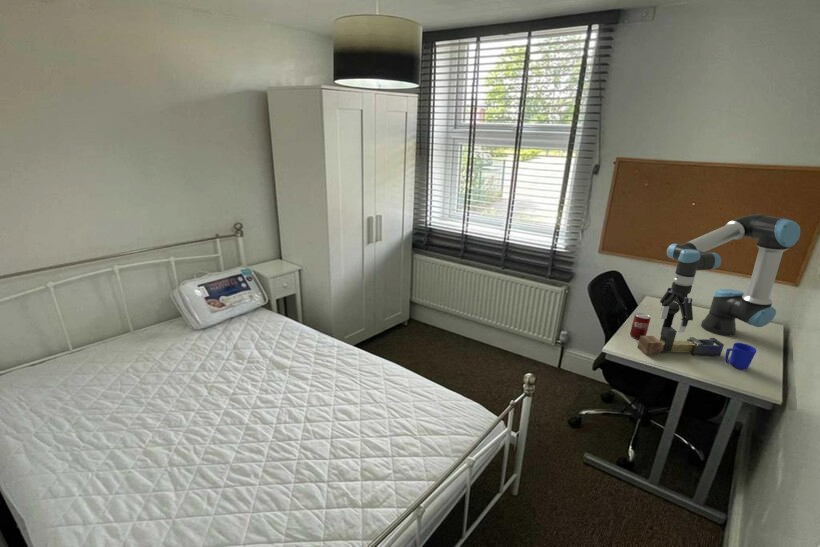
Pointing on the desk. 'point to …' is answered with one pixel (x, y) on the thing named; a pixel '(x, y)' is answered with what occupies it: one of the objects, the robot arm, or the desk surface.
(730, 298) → the robot arm
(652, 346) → the socket
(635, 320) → the soda can
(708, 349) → the sleeve
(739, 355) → the mug
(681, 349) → the hammer
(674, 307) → the microphone
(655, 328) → the desk surface
